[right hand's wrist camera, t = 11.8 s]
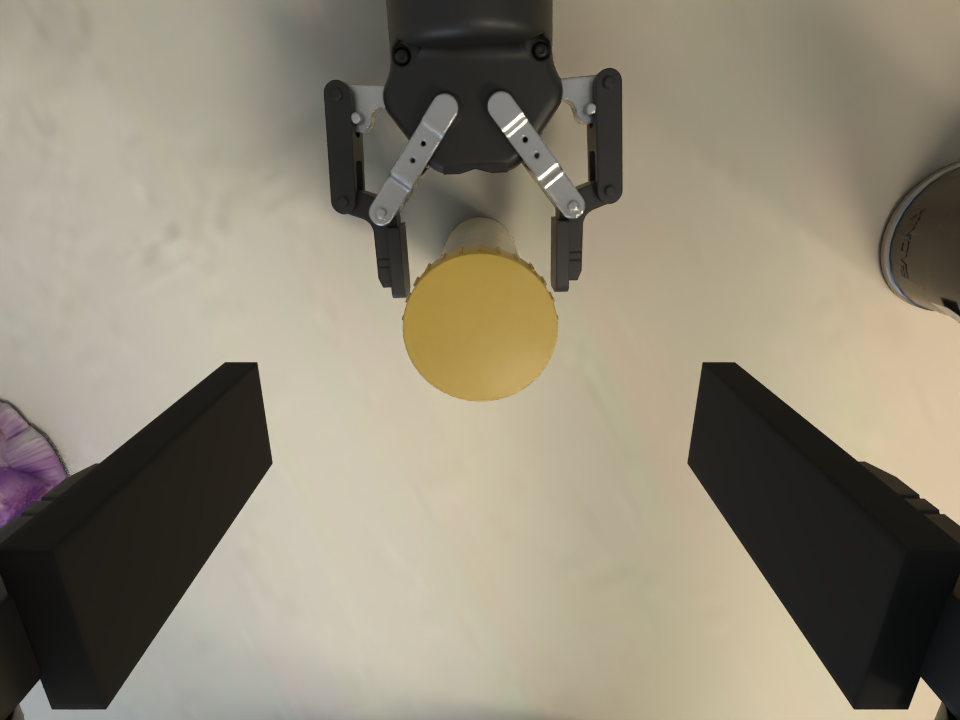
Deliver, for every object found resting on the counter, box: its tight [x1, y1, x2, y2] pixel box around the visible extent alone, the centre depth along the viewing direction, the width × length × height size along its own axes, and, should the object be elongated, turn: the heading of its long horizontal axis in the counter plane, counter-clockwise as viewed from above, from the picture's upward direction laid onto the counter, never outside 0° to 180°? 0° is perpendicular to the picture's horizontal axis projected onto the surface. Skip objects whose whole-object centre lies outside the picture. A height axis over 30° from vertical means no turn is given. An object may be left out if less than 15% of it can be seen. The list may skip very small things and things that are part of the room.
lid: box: [402, 244, 558, 401], centre depth 20 cm, size 6×6×2 cm
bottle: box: [441, 217, 520, 258], centre depth 28 cm, size 4×4×17 cm
